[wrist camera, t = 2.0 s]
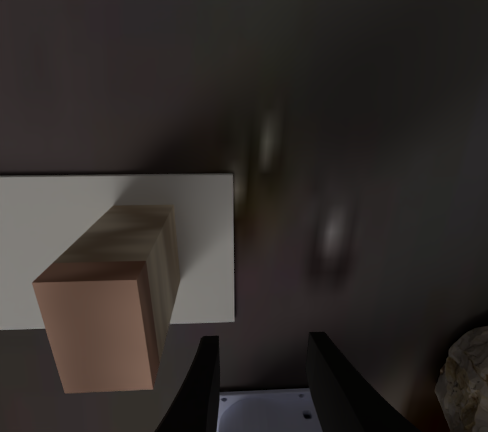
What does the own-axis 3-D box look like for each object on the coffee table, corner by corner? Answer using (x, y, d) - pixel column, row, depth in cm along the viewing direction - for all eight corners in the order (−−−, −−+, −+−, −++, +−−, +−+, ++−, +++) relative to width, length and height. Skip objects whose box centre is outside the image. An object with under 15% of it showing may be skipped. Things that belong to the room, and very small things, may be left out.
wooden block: (173, 204, 20) (136, 279, 12) (180, 280, 22) (152, 389, 14) (112, 205, 20) (31, 282, 12) (125, 282, 22) (64, 393, 14)
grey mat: (232, 173, 20) (233, 174, 20) (234, 318, 24) (234, 321, 24) (-84, 176, 19) (-90, 178, 19) (-23, 327, 23) (-27, 330, 23)
